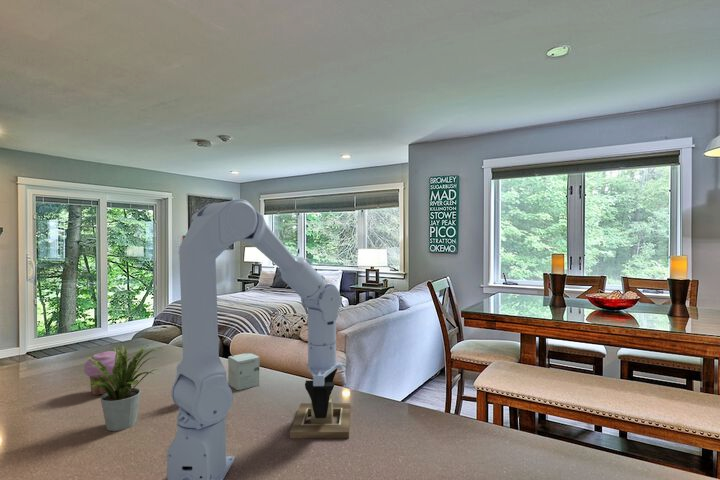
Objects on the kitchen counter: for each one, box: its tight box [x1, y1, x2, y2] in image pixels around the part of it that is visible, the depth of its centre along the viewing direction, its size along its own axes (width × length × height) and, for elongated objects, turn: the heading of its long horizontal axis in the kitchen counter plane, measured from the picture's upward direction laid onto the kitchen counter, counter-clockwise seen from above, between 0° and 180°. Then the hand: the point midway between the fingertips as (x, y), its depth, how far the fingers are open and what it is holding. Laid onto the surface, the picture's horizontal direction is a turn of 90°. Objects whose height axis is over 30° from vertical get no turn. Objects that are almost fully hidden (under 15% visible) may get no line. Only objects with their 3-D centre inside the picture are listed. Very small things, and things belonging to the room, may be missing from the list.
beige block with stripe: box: [310, 393, 334, 424], centre depth 81 cm, size 4×4×5 cm
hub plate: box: [289, 402, 352, 439], centre depth 81 cm, size 13×11×1 cm
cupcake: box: [83, 350, 116, 396], centre depth 99 cm, size 9×9×10 cm
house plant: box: [84, 342, 163, 432], centre depth 81 cm, size 14×14×16 cm
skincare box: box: [227, 352, 260, 391], centre depth 103 cm, size 6×6×7 cm
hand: (322, 408), depth 81 cm, fingers open, 7 cm apart
